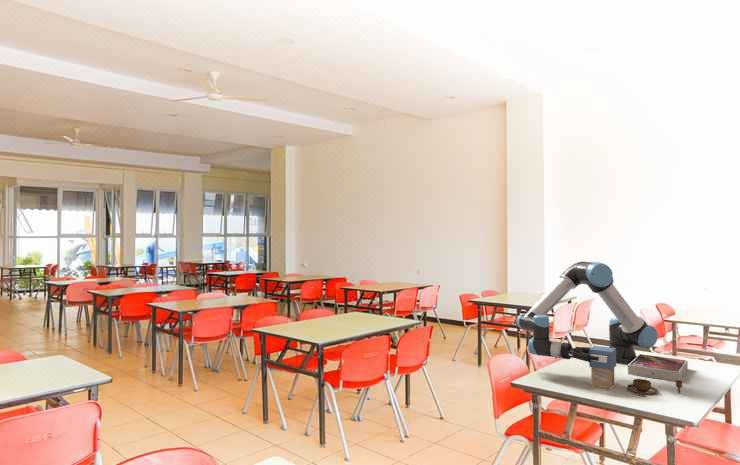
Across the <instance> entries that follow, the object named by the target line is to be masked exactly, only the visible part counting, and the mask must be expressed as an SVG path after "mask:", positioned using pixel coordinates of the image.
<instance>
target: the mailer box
mask: <svg viewBox="0 0 740 465" xmlns="http://www.w3.org/2000/svg"><path fill="white" fill-rule="evenodd" d="M590 369H591V370H590V372H591V375H590V376H591V386H593V387H598V388H605V389H610V390H611V389H612V388H613V386H614V385H615V367H614V368H613V370H607V369H600V368H593V367H590Z"/></svg>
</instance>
